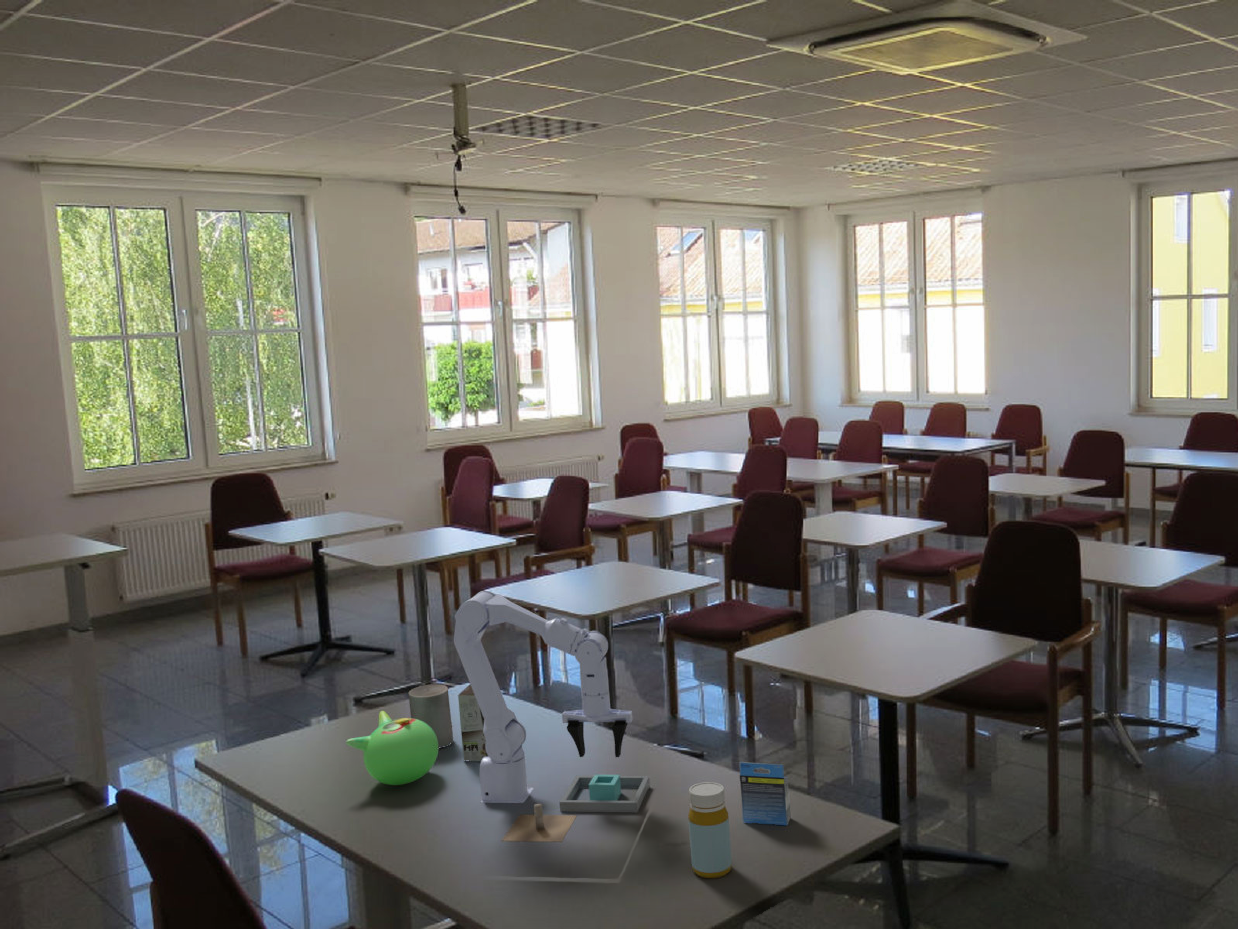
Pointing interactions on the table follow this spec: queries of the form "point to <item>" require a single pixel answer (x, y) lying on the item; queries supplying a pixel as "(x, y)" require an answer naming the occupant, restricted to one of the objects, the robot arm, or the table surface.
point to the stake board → (540, 835)
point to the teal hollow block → (605, 787)
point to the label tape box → (764, 794)
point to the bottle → (709, 830)
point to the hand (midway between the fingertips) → (600, 755)
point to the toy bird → (398, 750)
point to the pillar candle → (433, 710)
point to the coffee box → (471, 726)
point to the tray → (605, 806)
